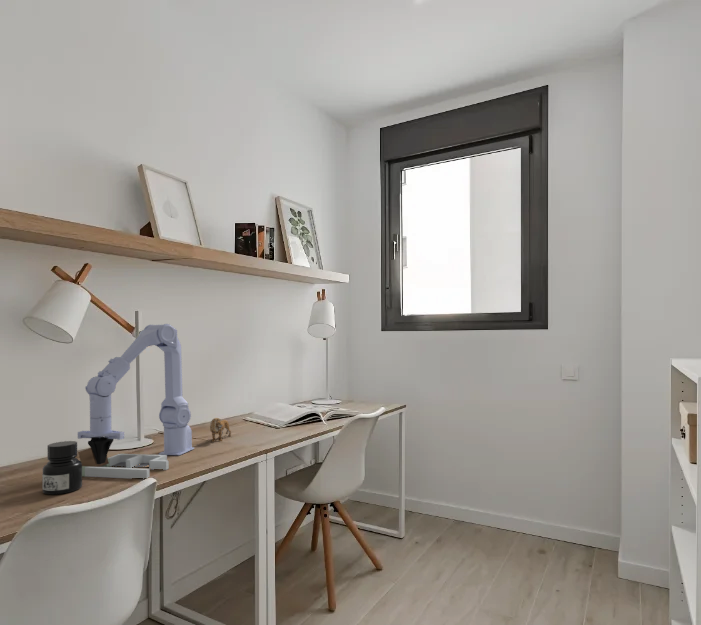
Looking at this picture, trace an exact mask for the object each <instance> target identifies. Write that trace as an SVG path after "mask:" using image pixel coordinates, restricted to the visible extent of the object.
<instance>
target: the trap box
mask: <svg viewBox="0 0 701 625" xmlns="http://www.w3.org/2000/svg"><path fill="white" fill-rule="evenodd" d="M107 458H108V462H109V464H106V465H103V466H100V467H89V466H82V477H86V478H87V477H89V478H91V477H92V478H112V479H113V478H114V479H132V478H143V479H142V480H145V479H144V478H148V477H150V470H154V469H163V470H162V471H167V470H169V468H170V467H169V465H170V464H169V462H170V461H169V460H168V455H159V454H150V453H149V454H145V453H137V454H136V453H118V454H115V455H112V456H109V457H107ZM139 464H140V465H139ZM136 465H137V466H136ZM147 465H149V468H138V467H143V466H144V467H145V466H147ZM112 466H113V467H112ZM114 466H115V467H114ZM117 466H121V467H117ZM123 466H124V467H123ZM134 466H135V467H134ZM132 467H133V468H132ZM150 468H151V469H150ZM148 479H149V478H148Z"/></svg>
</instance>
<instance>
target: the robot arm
mask: <svg viewBox="0 0 701 625" xmlns="http://www.w3.org/2000/svg"><path fill="white" fill-rule="evenodd" d="M152 346H156V347H157V348H159V349H160V350H161V351H162V352H163V356H164V360H163V361H164V389H165V390H164V392H165V393H164V394H165V396H164V397H165V398H164V399H163V400H162V402H161V403H160V405H161V406H160V411H159V414H158V419H159V421H160V422H161V423H162V426H163V451H161V452H158V455H167V456H181V455H183V454H185V453H187V452H189V451H192V450H194V449H195V447H193V440H192V439H193V437H192V436H193V430H192V428H191V426H190V425H188V424H189V423H190V420H191V417H192V416H191V415H192V414H191V410H190V408H189V403H188V401H187V400H186V399H185V398H184V397H183V369H182V368H183V366H182V364H183V363H182V359H183V358H182V344H181V342H180V339H179V338H178V330H177V328H175V327H174V326H173V325H171V324H170V323H164V324H148V325H146V326H145V327H144V328H143V329H142V330H141V331H140V332H139V335H138V336H137V337H136V338H135V340H133V342H132V343H131V344H130V345H129V347H127V349H126V350H125V351H124V352H123V354H122V355H121V356H116V357H113V358H110V359H109V360H108V364H107V365H106V366H105V367H103V369H102V370H99V371H98V372H97V376H93V377H91V378H90V379H89V380H88V382H87V384H86V386H85V387H84V389H85V391H86V393H87V394H88V395H89V430H81V431H77V439H79V440H81V439H90V440H88V441H87V444H88V446H89V447H90V448H91V449H92V451H93V453H94V456H95V459H96V462H97V464H102V463H105V461H106V457H107V458H108V452H109V450H110V448H111V445H112V443H113V442H114V440H117V441H119V440H122V439H125V431H119V430H114V429H112V393H115V391H116V386H117V384H118V383H119V382H120V381H121V379H122V378H123V377H124V376H125V375H126V374H127V373H128V372H129V371H130V369H131V365H130V364H131V363H132V362H134V360H135V359H136V358H137V357H138V356H140V354H142V353H143V351H145V350H146V349H147V348H148V347H152Z"/></svg>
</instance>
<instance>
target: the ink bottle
mask: <svg viewBox="0 0 701 625" xmlns="http://www.w3.org/2000/svg"><path fill="white" fill-rule="evenodd" d="M77 456H78V441H76V440H74V441H73V440H68V441H67V440H65V441H58V442H57V441H56V442H53V443H50V444H47V462H46V464H45V465H44V466H43V467H42V473H41V474H42V475H41V476H42V481H41V482H42V486H41V487H42V493H43V494H45V495H62V494H68V493H71V492H74V491H77V490H80V489H81V488H82V487H83V476H82V463H81V461H80V459H78V458H76V457H77Z"/></svg>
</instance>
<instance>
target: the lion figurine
mask: <svg viewBox="0 0 701 625" xmlns="http://www.w3.org/2000/svg"><path fill="white" fill-rule="evenodd" d="M209 429H210V432H211V437H212V439H211V442H212V443H213V442H216V435H218V437H217V439H218V442H223V439H222V437H223V434H224V430H226V432H225V435H227V437H232V432H231V431H232V430H231V429H230V424H229V421H228V420H226V419H222V420H221V418H219V417H214V418H213V419H211V421H210V426H209Z"/></svg>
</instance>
